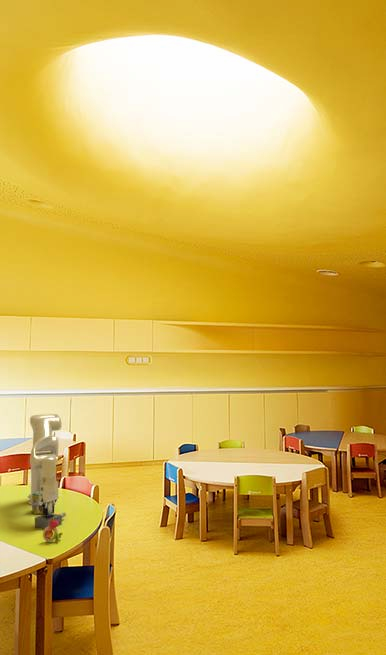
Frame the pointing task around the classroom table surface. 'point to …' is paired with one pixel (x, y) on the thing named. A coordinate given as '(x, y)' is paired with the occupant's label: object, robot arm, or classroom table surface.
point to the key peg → (49, 510)
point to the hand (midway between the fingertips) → (48, 513)
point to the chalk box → (36, 504)
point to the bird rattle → (51, 532)
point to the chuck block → (44, 522)
